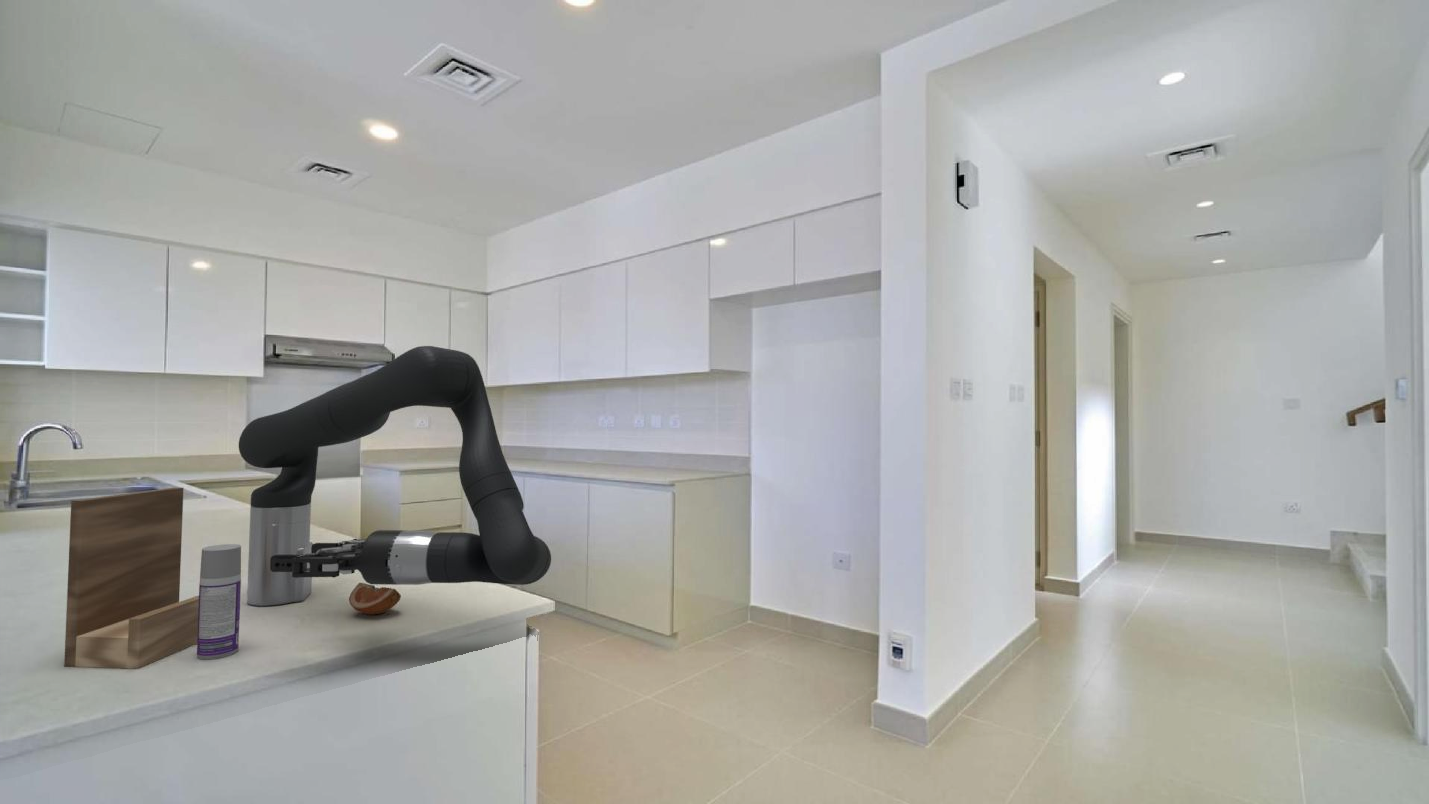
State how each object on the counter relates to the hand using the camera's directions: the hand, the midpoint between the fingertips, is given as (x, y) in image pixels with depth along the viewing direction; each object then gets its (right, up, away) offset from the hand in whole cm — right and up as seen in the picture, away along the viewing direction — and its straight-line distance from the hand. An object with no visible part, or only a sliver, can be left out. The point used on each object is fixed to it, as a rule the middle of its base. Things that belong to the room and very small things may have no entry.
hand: (293, 556), depth 91 cm
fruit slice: (+2, -15, +18) cm, 23 cm away
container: (-10, -14, -1) cm, 17 cm away
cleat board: (-21, -13, +2) cm, 25 cm away
